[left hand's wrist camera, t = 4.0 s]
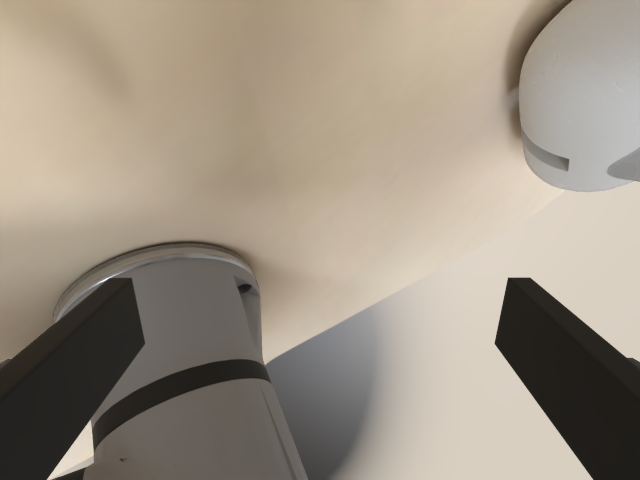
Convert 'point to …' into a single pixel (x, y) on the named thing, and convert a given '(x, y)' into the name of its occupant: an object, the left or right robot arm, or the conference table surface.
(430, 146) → the conference table surface
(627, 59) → the projector
